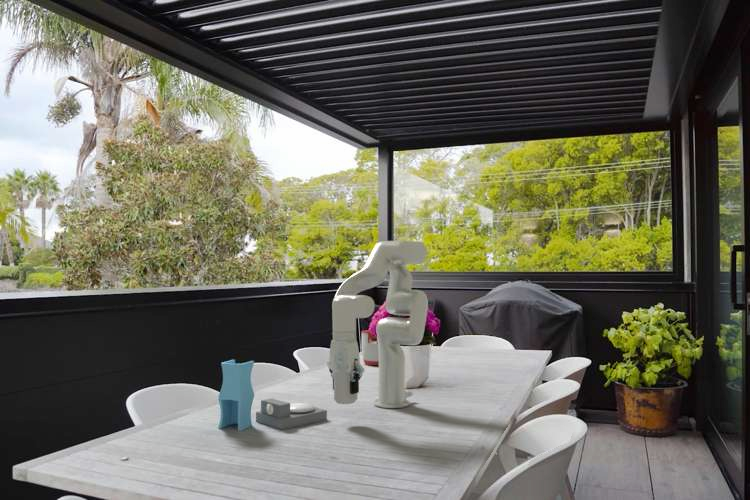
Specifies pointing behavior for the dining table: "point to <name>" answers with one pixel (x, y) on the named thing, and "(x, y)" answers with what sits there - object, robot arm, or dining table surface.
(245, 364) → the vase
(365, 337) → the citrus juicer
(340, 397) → the can
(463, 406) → the dining table surface
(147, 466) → the dining table surface
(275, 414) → the scale
